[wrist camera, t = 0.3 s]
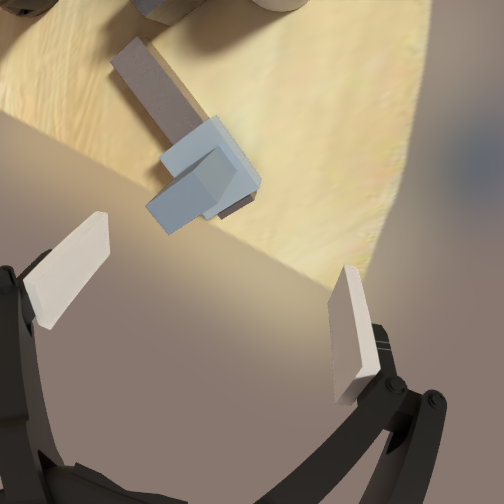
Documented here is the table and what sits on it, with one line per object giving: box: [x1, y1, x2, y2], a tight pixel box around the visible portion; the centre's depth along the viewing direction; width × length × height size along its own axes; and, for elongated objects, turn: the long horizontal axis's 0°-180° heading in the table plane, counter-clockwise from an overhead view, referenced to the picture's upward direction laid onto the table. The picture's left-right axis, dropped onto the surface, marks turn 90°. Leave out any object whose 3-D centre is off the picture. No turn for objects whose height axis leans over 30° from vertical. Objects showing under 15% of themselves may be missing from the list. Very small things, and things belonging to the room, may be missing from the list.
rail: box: [110, 36, 257, 220], centre depth 35 cm, size 26×5×5 cm, turn 34°
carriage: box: [145, 115, 262, 235], centre depth 33 cm, size 10×8×14 cm
